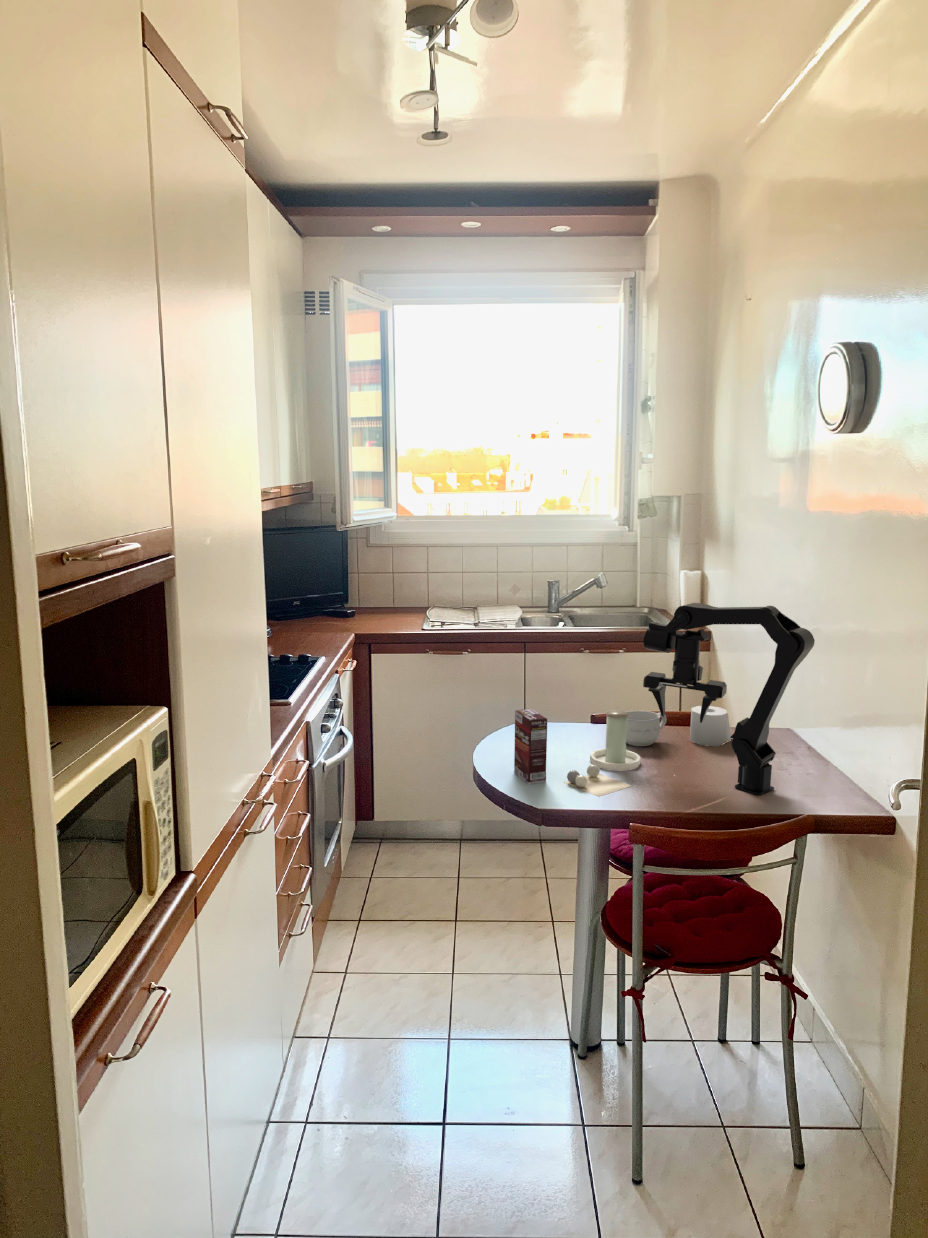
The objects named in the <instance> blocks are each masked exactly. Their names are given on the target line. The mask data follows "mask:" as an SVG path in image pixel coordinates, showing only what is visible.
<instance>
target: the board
mask: <svg viewBox="0 0 928 1238" xmlns="http://www.w3.org/2000/svg"><path fill="white" fill-rule="evenodd" d="M584 776H585V777H586V778H587V785H586V786H585V787H582V788H581V787H578V786H577V785H576V783H571V782H569V781H568V780H567V781H565V782H563V783H564V784H566V785H569V786H572V787H574V788H576V789H579V790H582V791H584V792H586V793H588V794H590V795H591V794H592V795H594V796H596V797H598V798H600V797H603V796H606V795H608V794H611V793H614V792H615V793H616V792H618V791H621V790H624V789H629V788H630V787H632V785H631V784H628V783H626V782H623V781H620V780H618V779H615V778H612V777H610V776H607V775H604V774H601V773H599V775H598V776H597V777H590V776H589V775H588V774H587V775H584Z"/></svg>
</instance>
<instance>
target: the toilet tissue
mask: <svg viewBox="0 0 928 1238" xmlns="http://www.w3.org/2000/svg"><path fill="white" fill-rule="evenodd" d="M701 707H702V705H697V706H693V707H691V709H690V711H691V713H690V726H689V727H690V729H689V730H690V732H689V741H690V740H691V741H694V742H695V743H697V744H700V745H699V746H702V745H708V746H713V747H721V746H720V745H722V744H723V743H726V742H727V741H730V740H731V738H730V737H731V736H732V735H733V734H732V731H731V724H730V719H729V715H728V710H726V709H724V708H722V707H720V706H712V705H710V706H709V708H708V711H707V713H706V715H705V717H704V720H703V722H702V723H700V714H701ZM691 741H690V742H691ZM695 743H694V744H695ZM697 744H696V745H697ZM708 746H707V747H708ZM722 746H723V745H722Z"/></svg>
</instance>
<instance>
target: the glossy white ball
mask: <svg viewBox="0 0 928 1238" xmlns="http://www.w3.org/2000/svg"><path fill="white" fill-rule="evenodd" d="M586 773H587V775H589V776H590V777H597V776H598V775H599V774H600V773H601V772H600V768H598V766H596V765H593V764H590V765H588V767H586Z"/></svg>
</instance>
